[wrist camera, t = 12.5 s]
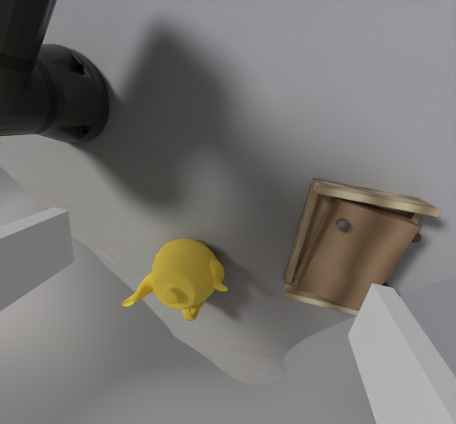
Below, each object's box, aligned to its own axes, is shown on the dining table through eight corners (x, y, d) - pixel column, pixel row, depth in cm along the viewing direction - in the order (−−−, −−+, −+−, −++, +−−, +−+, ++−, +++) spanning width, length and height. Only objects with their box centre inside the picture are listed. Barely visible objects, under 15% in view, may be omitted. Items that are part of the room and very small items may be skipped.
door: (295, 271, 44) (298, 292, 38) (333, 192, 38) (343, 203, 32) (354, 291, 43) (365, 316, 37) (403, 214, 37) (425, 230, 31)
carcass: (283, 277, 46) (284, 296, 41) (312, 178, 38) (317, 186, 33) (371, 299, 44) (383, 322, 39) (419, 198, 36) (442, 210, 31)
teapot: (167, 299, 54) (140, 341, 43) (140, 242, 50) (103, 274, 39) (251, 286, 48) (243, 332, 38) (228, 221, 44) (212, 251, 34)
